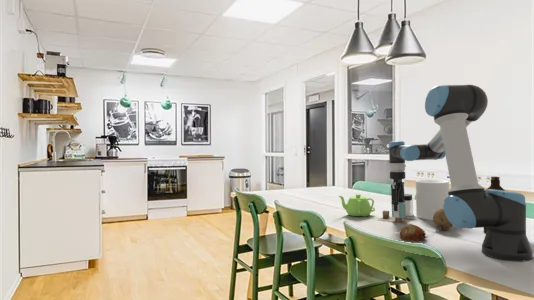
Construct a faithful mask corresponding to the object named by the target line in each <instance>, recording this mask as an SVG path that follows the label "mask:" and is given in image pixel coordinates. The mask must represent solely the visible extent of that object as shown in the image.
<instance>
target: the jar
mask: <svg viewBox="0 0 534 300" xmlns="http://www.w3.org/2000/svg"><path fill="white" fill-rule="evenodd" d="M404 199H405V200H404V201H405V203H404V204H405V210H406V216H405V217H411V216H414V199H413V194H410V193H404Z"/></svg>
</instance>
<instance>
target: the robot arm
mask: <svg viewBox="0 0 534 300" xmlns="http://www.w3.org/2000/svg"><path fill="white" fill-rule="evenodd" d="M424 101H425V102H424V108H425V110H424V111H425V113H426V114H427V116H429V117H433V120H434V121H433V122H434V123H435V124H437V125H438V126H439V128H440V129H439V130H438V131H437V132H436V133H435V135H434V136H433V137H432V138H431V140H430V141H428V143H424V144H405V141H403V140H400V141H399V140H398V141H397V140H396V141H395V140H394V141H389V143H388V153H389V154H388V155H389V157H388V158H389V165H388V166H389V178H390V180H393V181H392V184H391V183H390V189H391V190H390V191H391V193H390V194H391V196H390V197H391V203H390V204H391V205H392V204H393V211H394V217H397V218H399V217H400V216H399V205H398V203H405V201H404V200H405V199H404V194H405V182H403V180H405V179H406V168H407V165H406V162H413V161H424V160H426V161H429V160H431V161H432V160H434V161H435V160H442V159H444V158H445V160H446V165H447V170H448V176H449V179H450V181H449V182H450V186H451V187H449V191H448V195H449V196H448V197H446V198H445V200H444V204H443V208H444V212H445V215H446V217H447V219H448V220H449V222H451V223H452V224H453V225H452V226H454V227H456V228H459V229H477V228H483V227H487V233H485V236H484V239H483V240H482V241H483V242H482V244H481V252H482V253H483V254H484V255H486V256H488V257H491V258H495V259H497V260H505V261H512V262H527V261H531V260H533V259H534V257H533V256H534V253H533V249H532V247H531V244H530V242H529V239H528V237H527V204H526V197H525V195H524V194H523V193H520V192H517V191H509V190H505V191H503V190H494V189H487V190H486V189H485V187H484V186H482V185H480V184H479V182H478V177H477V172H476V166H475V163H474V157H473V154H472V153H473V152H472V147H471V145H470V144H471V143H470V137H469V134H468V129H467V127H468V126H470V124H471V123H473V122H476V121H478V120H479V119H480V118H481V117H482V116H483V114H484V113H485V111H486V110H487V108H488V103H489V102H488V96H487V94H486V92H485V90H484V89H482V88H481V87H480V86H478V85H473V84H452V85H451V84H448V85H447V84H442V85H435V86H434V87H432V88H431V89H430V90H429V91H428V92H427V95H426V98H425V100H424ZM485 190H486V194H485Z"/></svg>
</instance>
